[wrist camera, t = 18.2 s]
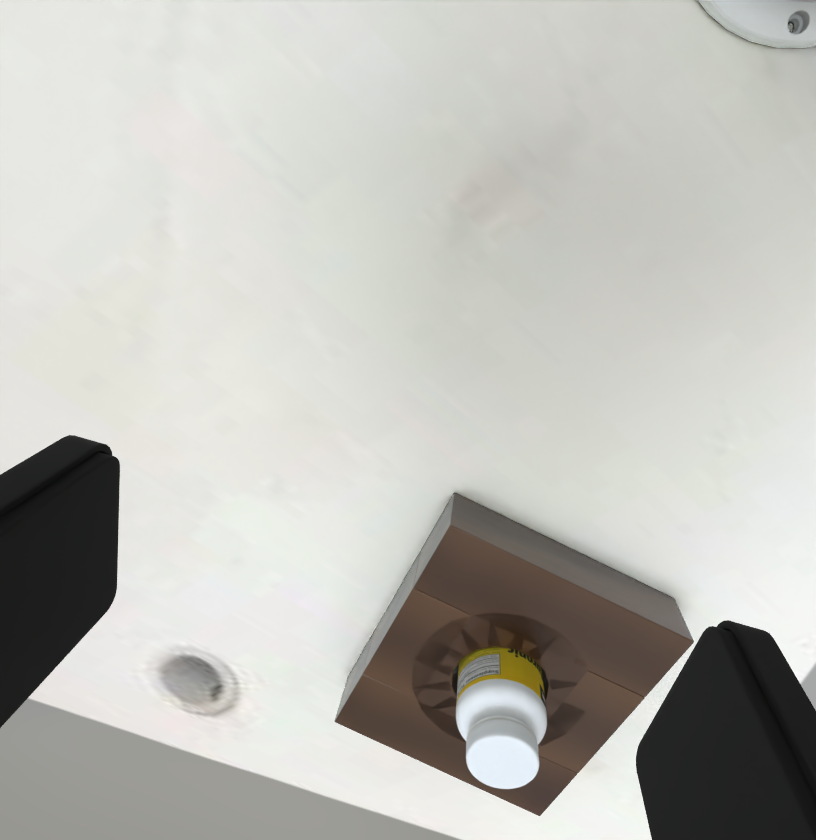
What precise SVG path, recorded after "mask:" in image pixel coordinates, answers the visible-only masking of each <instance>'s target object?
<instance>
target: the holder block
mask: <svg viewBox="0 0 816 840" xmlns="http://www.w3.org/2000/svg"><path fill="white" fill-rule="evenodd" d="M693 642H694V641H693V639H692V636H691V634H690V632H689V630H688V628H687V625H686V623H685V621H684V619H683V617H682V614H681V612H680V610H679V608H678V606H677V603H676V601H675V599H674V598H672V597H670V596H668V595H665V594H663V593H661V592H659V591H657V590H655V589H653V588H651V587H649V586H647V585H645V584H643V583H641V582H638V581H636V580H634V579H632V578H630V577H628V576H626V575H624V574H622V573H620V572H618V571H616V570H614V569H612V568H609V567H607V566H605V565H603V564H601V563H599V562H597V561H595V560H593V559H591V558H589V557H587V556H585V555H582V554H580V553H578V552H576V551H574V550H572V549H570V548H568V547H566V546H564V545H562V544H560V543H558V542H556V541H553V540H551V539H549V538H547V537H545V536H543V535H541V534H539V533H537V532H535V531H533V530H531V529H529V528H527V527H524V526H522V525H520V524H518V523H516V522H514V521H512V520H510V519H508V518H506V517H504V516H502V515H500V514H497V513H495V512H493V511H491V510H489V509H487V508H485V507H483V506H481V505H479V504H477V503H475V502H473V501H471V500H468V499H466V498H464V497H462V496H460V495H458V494H456V493H454V494H453V496H452V497H451V499H450V501H449V503H448V504H447V506H446V508H445V510H444V511H443V513H442V515H441V516H440V518H439V520H438V522H437V523H436V525H435V527H434V529H433V530H432V532H431V534H430V536H429V537H428V539H427V541H426V543H425V544H424V546H423V548H422V549H421V552H420V553H419V554H418V556H417V558H416V560H415V561H414V563H413V565H412V567H411V568H410V570H409V572H408V574H407V575H406V577H405V579H404V581H403V582H402V584H401V586H400V587H399V589H398V591H397V593H396V594H395V596H394V598H393V600H392V601H391V603H390V605H389V607H388V608H387V610H386V612H385V614H384V615H383V617H382V619H381V620H380V622H379V624H378V626H377V627H376V629H375V631H374V633H373V635H372V636H371V638H370V640H369V641H368V643H367V645H366V647H365V648H364V650H363V652H362V654H361V655H360V657H359V659H358V661H357V662H356V664H355V666H354V668H353V669H352V671H351V673H350V674H349V676H348V678H347V681H346V685H345V688H344V691H343V695H342V698H341V701H340V705H339V708H338V711H337V715H336V718H335V722H336V723H338V724H340V725H343V726H345V727H347V728H349V729H351V730H353V731H356V732H358V733H360V734H362V735H364V736H367V737H369V738H371V739H373V740H375V741H377V742H380V743H382V744H384V745H386V746H388V747H390V748H393V749H395V750H397V751H399V752H401V753H403V754H406V755H408V756H410V757H412V758H414V759H417V760H419V761H421V762H423V763H425V764H427V765H430V766H432V767H434V768H436V769H438V770H440V771H443V772H445V773H447V774H449V775H451V776H453V777H456V778H458V779H460V780H462V781H464V782H466V783H469V784H471V785H473V786H475V787H477V788H480V789H482V790H484V791H486V792H488V793H490V794H493V795H495V796H497V797H499V798H501V799H503V800H506V801H508V802H510V803H512V804H514V805H516V806H519V807H521V808H523V809H525V810H527V811H529V812H532V813H534V814H536V815H538V816H540V815H541V814H542V813H543V812H544V811H545V810H546V809H547V808H548V806H549V805H550V804H551V803H552V802H553V801H554V800H555V798H556V797H557V796H558V795H559V794H560V793H561V792H562V791H563V789H564V788H565V787H566V786H567V785H568V784H569V783H570V782H571V780H572V779H573V778H574V777H575V776H576V775H577V773H579V772H580V770H581V769H582V768H583V767H584V766H585V765H586V764H587V763H588V761H589V760H590V759H591V758H592V757H593V756H594V755H595V753H596V752H597V751H598V750H599V749H600V748H601V747H602V746H603V744H604V743H605V742H606V741H607V740H608V739H609V738H610V737H611V735H612V734H613V733H614V732H615V731H616V730H617V729H618V727H619V726H620V725H621V724H622V723H623V722H624V721H625V720H626V718H627V717H628V716H629V715H630V714H631V713H632V712H633V711H634V709H635V708H636V707H637V706H638V705H639V704H640V703H641V701H642V700H643V699H644V698H645V697H646V696H647V694H648V693H649V692H650V691H651V690H652V689H653V688H654V687H655V685H656V684H657V683H658V682H659V681H660V680H661V679H662V678H663V676H664V675H665V674H666V673H667V672H668V671H669V670H670V668H671V667H672V666H673V665H674V664H675V663H676V662H677V661H678V659H679V658H680V657H681V656H682V655H683V654H684V653H685V652H686V650H687V649H688V648H689V647H690V646H691V645H692V644H693ZM490 647H501V648H509V649H515V650H517V651H519V652H521V653H523V654H525V655H527V656H529V657H532V658H533V660H534V661H535V662H536V663H537V664H538V665H539V666H540V667H541V668H542V676H543V686H544V695H545V703H546V711H547V727H546V732H545V735H544V737H543V739H542V740H541V742H540V743H539V744H538V754H539V769H538V772H537V774H536V776H535V777H534V778H533V780H531V781H530V782H529V783H527V784H526V785H524V786H521V787H518V788H513V789H499V788H494V787H491V786H488V785H486V784H484V783H482V782H480V781H479V780H478V779H476V778H475V777H474V776H473V775H472V774H471V772H470V770H469V769H468V766H467V763H466V741H465V739H464V738H463V737H462V735H461V733H460V732H459V729H458V726H457V722H456V702H457V686H458V669H459V662H460V660H461V659H462V658H464V657H466V656H467V655H469V654H471V653H472V652H474V651H476V650H479V649H484V648H490Z"/></svg>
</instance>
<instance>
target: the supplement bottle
mask: <svg viewBox="0 0 816 840" xmlns="http://www.w3.org/2000/svg"><path fill="white" fill-rule="evenodd" d="M456 722H457V726H458V729H459V732H460V733H461V735H462V737H463V738H464V739H465V741H466V763H467V766H468V769H469V770H470V772H471V774H472V775H473V776H474V777H475V778H476V779H478V780H479V781H480V782H482V783H484V784H486V785H488V786H491V787H494V788H499V789H513V788H518V787H521V786H524V785H526V784H527V783H529V782H530V781H531V780H533V778H534V777H535V776H536V774H537V772H538V769H539V754H538V744H539V743H540V742H541V740H542V739H543V737H544V735H545V732H546V727H547V711H546V703H545V695H544V686H543V676H542V668H541V667H540V666H539V665H538V664H537V663H536V662H535V661H534V660H533V658H532V657H529V656H527V655H525V654H523V653H521V652H519V651H517V650H515V649H509V648H501V647H490V648H484V649H479V650H476V651H474V652H472V653H471V654H469V655H467V656H466V657H464V658H462V659H461V660H460V662H459V669H458V686H457V702H456Z"/></svg>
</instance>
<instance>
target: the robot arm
mask: <svg viewBox="0 0 816 840" xmlns="http://www.w3.org/2000/svg"><path fill="white" fill-rule="evenodd" d="M698 1H699V2H700V4H701V5H702V6H703V8H704V9H705V10H706V12H707V13H708V14H709V15H710V16H712V17H713V18H714V19H715V20H716V21H717V22H719V23H720V24H721V25H722V26H723V27H724V28H726V29H727V30H728V31H730V32H732V33H734V34H736V35H738V36H740V37H742V38H744V39H746V40H748V41H750V42H754V43H759V44H763V45H767V46H771V47H775V48H808V47H813V46H816V0H698ZM789 21H791V22H793V24H794V30H793V32H792V33H790V31H789V29H788V22H789ZM119 478H120V464H119V460H118V459H117V458H116V457H114V456H112V451H111V449H110V447H109V446H107V445H106V444H102V443H98V442H95V441H91V440H88V439H84V438H81V437H77V436H71V435H69V436H66V437H64V438H62V439H60V440H59V441H57V442H55V443H53V444H52V445H50V446H48V447H47V448H45V449H43V450H42V451H40V452H38V453H36V454H35V455H33V456H31V457H30V458H28V459H26V460H25V461H23V462H21V463H20V464H18V465H16V466H14V467H13V468H11V469H9V470H8V471H6V472H4V473H3V474H1V475H0V728H1V726H2V725H3V724H4V723H5V722H6V721H7V720H8V719H9V718H10V717H11V715H12V714H13V713H14V712H15V711H16V710H17V709H18V708H19V707H20V706H21V705H22V703H23V702H24V701H25V700H26V699H27V698H28V697H29V696H30V695H31V694H32V693H33V692H34V690H35V689H36V688H37V687H38V686H39V685H40V684H41V683H42V682H43V681H44V680H45V678H46V677H47V676H48V675H49V674H50V673H51V672H52V671H53V670H54V669H55V668H56V666H57V665H58V664H59V663H60V662H61V661H62V660H63V659H64V658H65V657H66V656H67V654H68V653H69V652H70V651H71V650H72V649H73V648H74V647H75V646H76V645H77V644H78V642H79V641H80V640H81V639H82V638H83V637H84V636H85V635H86V634H87V633H88V632H89V630H90V629H91V628H92V627H93V626H94V625H95V624H96V623H97V622H98V621H99V620H100V618H101V617H102V616H103V615H104V614H105V613H106V612H107V610H108V609H109V608H110V606H111V604H112V602H113V600H114V598H115V594H116V589H117V558H118V518H119ZM636 768H637V774H638V778H639V783H640V787H641V792H642V796H643V801H644V805H645V810H646V814H647V819H648V823H649V828H650V832H651V837H652V840H816V711H815V709H814V707H813V706H812V704H811V702H810V700H809V699H808V697H807V695H806V693H805V692H804V690H803V688H802V687H801V685H800V683H799V681H798V680H797V678H796V676H795V674H794V673H793V671H792V669H791V668H790V666H789V664H788V662H787V661H786V659H785V657H784V656H783V654H782V652H781V650H780V649H779V647H778V645H777V644H776V642H775V640H774V639H773V637H772V636H771V635H770V634H769V633H768V632H766V631H763V630H760V629H756V628H753V627H749V626H746V625H742V624H739V623H735V622H732V621H723V622H721V623H720V624H718V626H717V627H713V626H712V627H708V628H707V629H706V630H705V631H704V632H703V634H702V636H701V637H700V639H699V641H698V642H697V644H696V646H695V648H694V649H693V651H692V653H691V655H690V656H689V658H688V660H687V662H686V663H685V665H684V667H683V669H682V670H681V672H680V674H679V676H678V677H677V679H676V681H675V683H674V684H673V686H672V688H671V689H670V691H669V693H668V695H667V696H666V698H665V700H664V702H663V703H662V705H661V707H660V709H659V710H658V712H657V714H656V716H655V717H654V719H653V721H652V723H651V724H650V726H649V728H648V729H647V731H646V733H645V735H644V736H643V738H642V740H641V742H640V744H639V746H638V750H637V755H636Z"/></svg>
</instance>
